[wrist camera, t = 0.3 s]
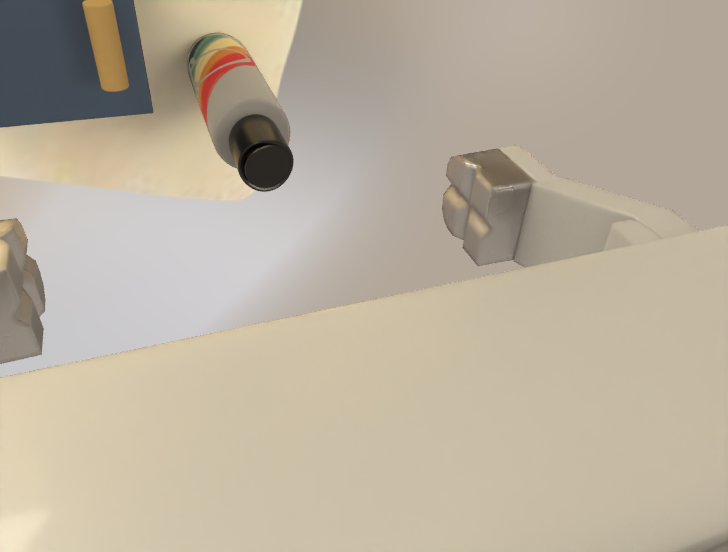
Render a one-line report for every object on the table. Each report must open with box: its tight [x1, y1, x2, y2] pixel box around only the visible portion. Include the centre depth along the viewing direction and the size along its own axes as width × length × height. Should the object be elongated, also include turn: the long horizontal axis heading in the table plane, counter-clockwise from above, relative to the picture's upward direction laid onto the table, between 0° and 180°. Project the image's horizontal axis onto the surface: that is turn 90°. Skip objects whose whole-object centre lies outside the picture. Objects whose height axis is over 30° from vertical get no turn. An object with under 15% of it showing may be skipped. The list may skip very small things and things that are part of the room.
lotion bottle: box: [187, 33, 293, 191], centre depth 48 cm, size 6×6×20 cm
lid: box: [0, 0, 153, 127], centre depth 40 cm, size 13×13×5 cm
